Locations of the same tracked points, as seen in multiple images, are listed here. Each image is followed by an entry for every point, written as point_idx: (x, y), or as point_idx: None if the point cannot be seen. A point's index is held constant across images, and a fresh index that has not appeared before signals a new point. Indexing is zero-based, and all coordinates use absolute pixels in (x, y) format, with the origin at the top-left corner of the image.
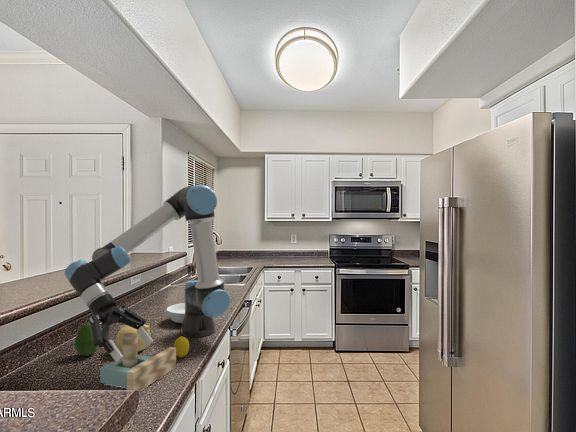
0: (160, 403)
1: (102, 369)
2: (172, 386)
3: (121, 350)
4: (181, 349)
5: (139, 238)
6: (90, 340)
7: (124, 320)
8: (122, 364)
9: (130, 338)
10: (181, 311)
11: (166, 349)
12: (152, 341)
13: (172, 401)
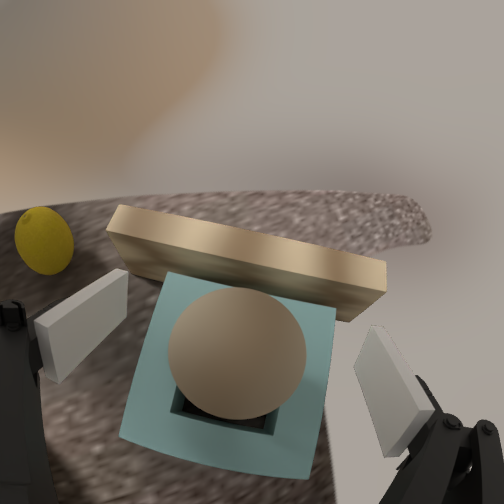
0: (355, 218)
1: (309, 467)
2: (269, 219)
3: None
4: (68, 231)
5: None
6: None
7: (44, 489)
8: (219, 424)
9: (290, 320)
10: None
11: (134, 232)
12: (124, 271)
13: (339, 197)
